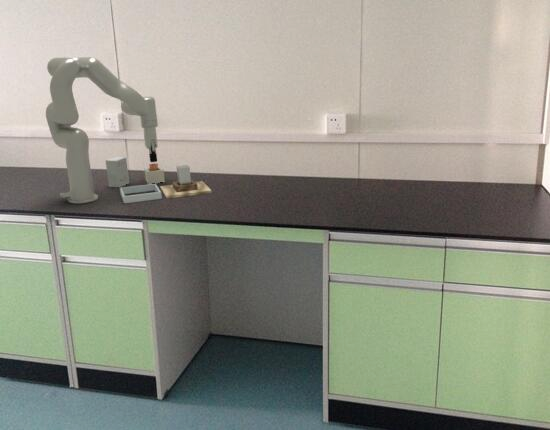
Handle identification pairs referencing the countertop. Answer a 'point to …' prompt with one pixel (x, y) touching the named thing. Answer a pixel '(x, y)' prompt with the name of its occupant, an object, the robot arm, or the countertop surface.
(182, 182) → the block
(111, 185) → the small box
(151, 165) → the button
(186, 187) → the plate
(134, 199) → the tote tray
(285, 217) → the countertop surface
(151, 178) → the button post
